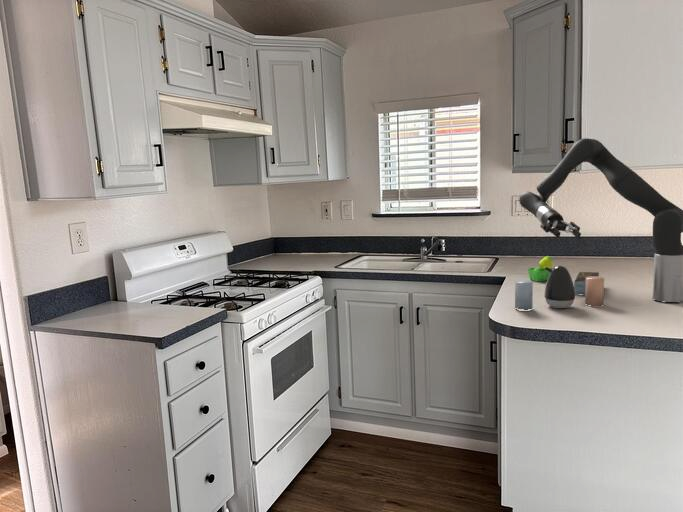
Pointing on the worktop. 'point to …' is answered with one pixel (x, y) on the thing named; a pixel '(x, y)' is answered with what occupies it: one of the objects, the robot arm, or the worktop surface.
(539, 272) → the fruit basket
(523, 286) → the slate-blue canister
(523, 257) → the worktop surface
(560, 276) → the pump dispenser
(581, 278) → the beverage carton
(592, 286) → the terracotta canister
